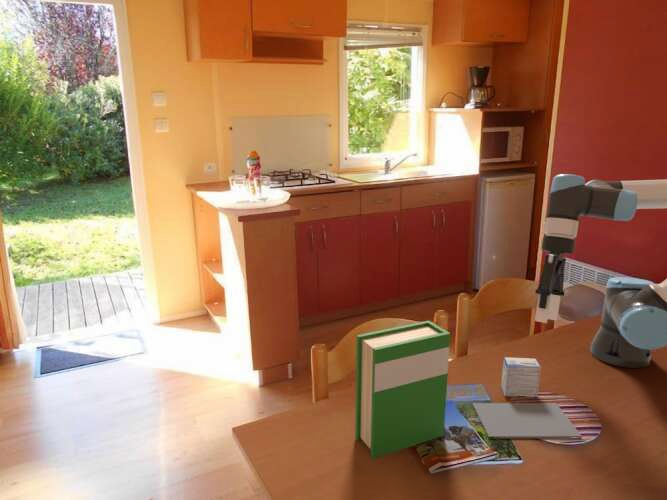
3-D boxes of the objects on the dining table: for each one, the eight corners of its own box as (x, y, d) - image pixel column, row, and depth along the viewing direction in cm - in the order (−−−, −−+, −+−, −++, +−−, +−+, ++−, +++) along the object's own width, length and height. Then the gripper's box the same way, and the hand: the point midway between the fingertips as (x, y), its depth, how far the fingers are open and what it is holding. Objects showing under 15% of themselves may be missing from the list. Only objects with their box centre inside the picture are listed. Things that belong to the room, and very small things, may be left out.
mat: (556, 404, 124) (556, 403, 124) (581, 438, 112) (581, 436, 111) (472, 405, 124) (472, 403, 124) (488, 438, 111) (488, 436, 111)
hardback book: (372, 458, 105) (375, 349, 99) (355, 438, 111) (356, 335, 105) (443, 436, 112) (450, 333, 106) (423, 418, 119) (428, 320, 112)
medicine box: (532, 389, 131) (536, 358, 129) (537, 398, 127) (541, 366, 125) (500, 387, 132) (503, 356, 130) (504, 397, 128) (507, 364, 125)
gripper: (552, 239, 142) (540, 315, 143) (533, 230, 121) (519, 319, 122) (582, 242, 138) (570, 321, 139) (567, 233, 117) (552, 326, 118)
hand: (546, 320), depth 130 cm, fingers open, 13 cm apart
